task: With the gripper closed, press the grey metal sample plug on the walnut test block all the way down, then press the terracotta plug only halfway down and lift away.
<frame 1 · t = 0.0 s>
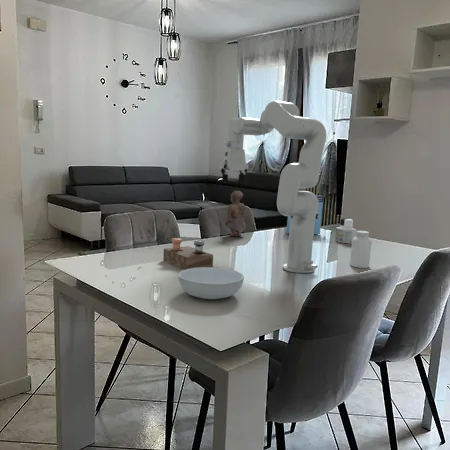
hand: (233, 182, 217), 31 cm above the table, tool pointing down, fingers open, 9 cm apart
pill bottle: (359, 266, 198), on the table
clay figurine: (235, 236, 254), on the table
container: (344, 242, 253), on the table
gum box: (303, 233, 274), on the table
sample plug: (198, 248, 185), point 7 cm above the table, slide at 0.0 cm
serving bowl: (210, 295, 148), on the table
rust plug: (176, 245, 187), point 7 cm above the table, slide at 0.0 cm
test block: (187, 263, 187), on the table
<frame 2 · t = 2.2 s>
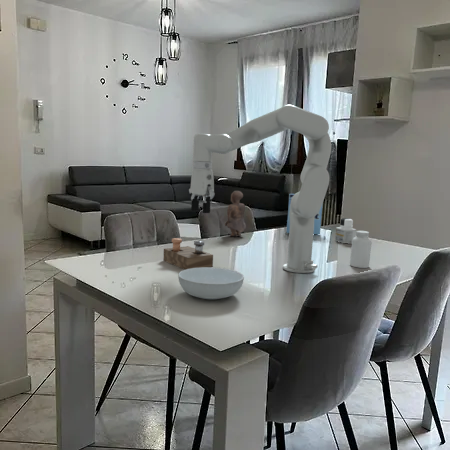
hand: (200, 211, 182), 22 cm above the table, tool pointing down, fingers open, 7 cm apart
nothing on the table moved.
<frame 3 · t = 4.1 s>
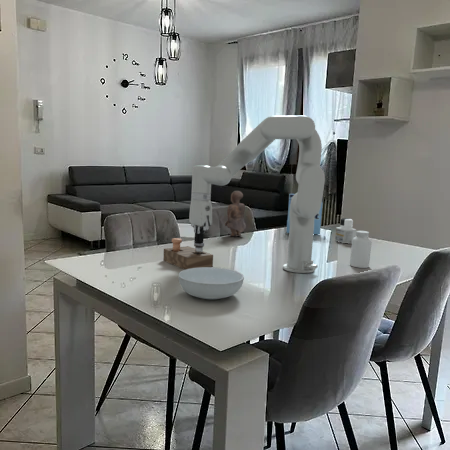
hand: (198, 242, 184), 9 cm above the table, tool pointing down, fingers closed
sample plug: (198, 249, 185), point 6 cm above the table, slide at 0.5 cm, touching gripper
everything else where it was.
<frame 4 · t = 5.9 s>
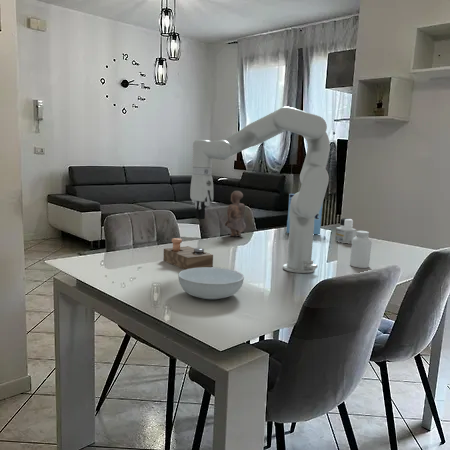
hand: (200, 218, 183), 19 cm above the table, tool pointing down, fingers closed
sample plug: (198, 255, 185), point 4 cm above the table, slide at 3.0 cm
everything else where it was.
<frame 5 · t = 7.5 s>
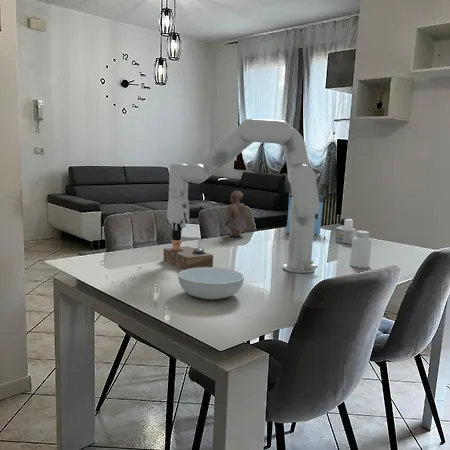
hand: (176, 239, 187), 9 cm above the table, tool pointing down, fingers closed
rust plug: (176, 246, 188), point 7 cm above the table, slide at 0.3 cm, touching gripper
everything else where it was.
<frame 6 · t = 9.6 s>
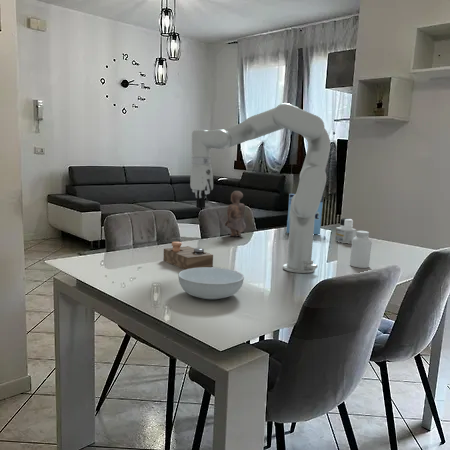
hand: (200, 207, 186), 23 cm above the table, tool pointing down, fingers closed
rust plug: (176, 248, 188), point 6 cm above the table, slide at 1.4 cm
everything else where it was.
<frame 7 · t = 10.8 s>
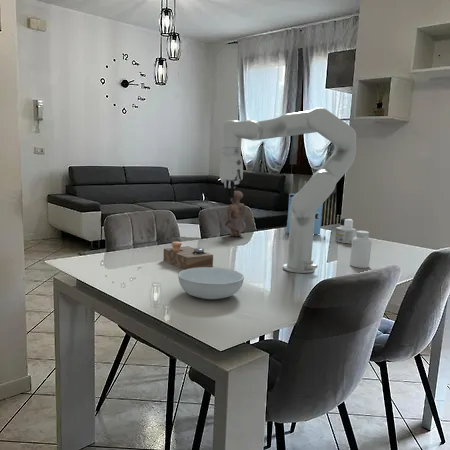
hand: (229, 197, 188), 27 cm above the table, tool pointing down, fingers closed
nothing on the table moved.
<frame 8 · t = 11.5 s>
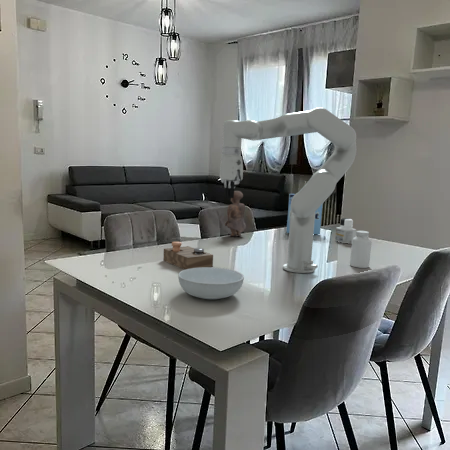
hand: (229, 197, 188), 27 cm above the table, tool pointing down, fingers closed
nothing on the table moved.
at the end: sample plug slide at 3.0 cm; rust plug slide at 1.4 cm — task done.
